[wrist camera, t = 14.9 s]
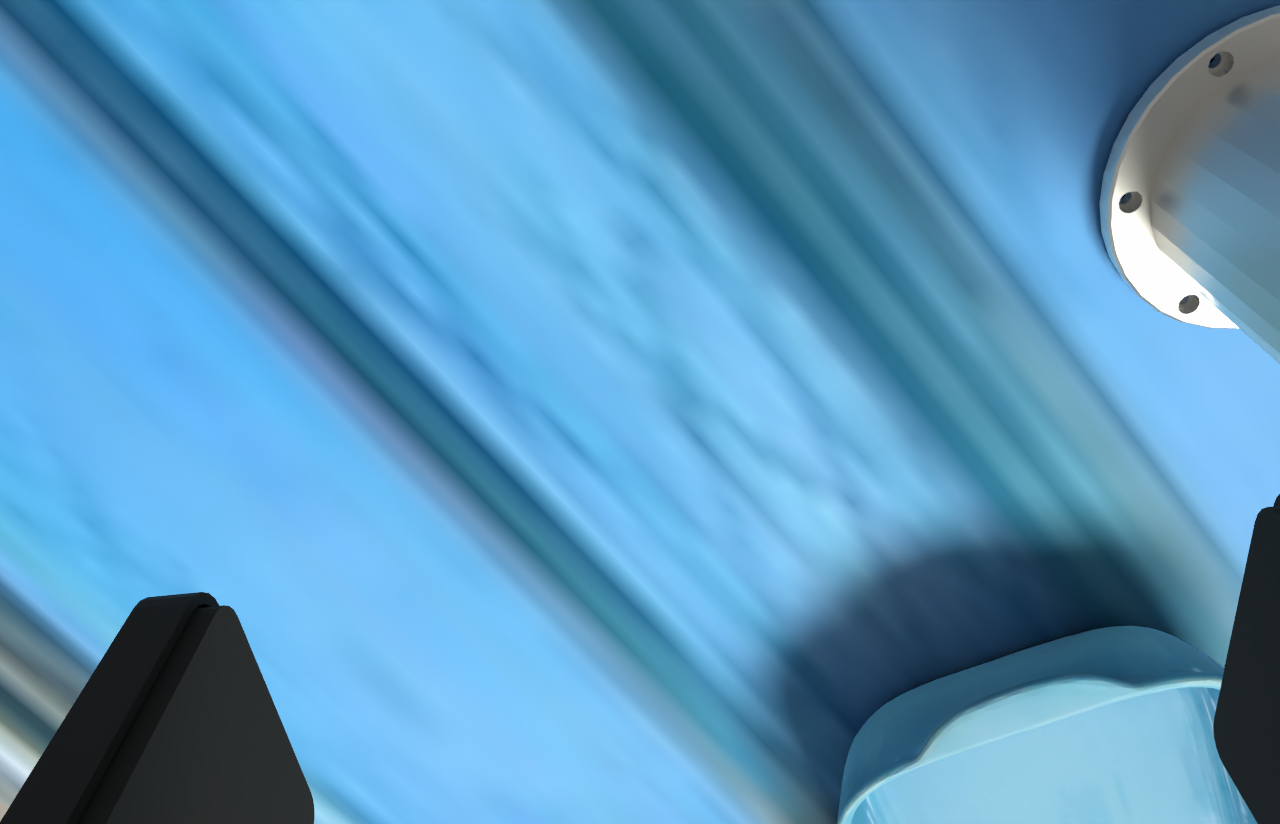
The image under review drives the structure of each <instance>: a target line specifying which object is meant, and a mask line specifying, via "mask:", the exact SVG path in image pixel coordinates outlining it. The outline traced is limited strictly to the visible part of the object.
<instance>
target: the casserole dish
mask: <svg viewBox="0 0 1280 824" xmlns="http://www.w3.org/2000/svg"><path fill="white" fill-rule="evenodd" d="M1223 673H1224V668H1223V667H1222V666H1220V665H1219V664H1218V663H1216V662H1215V661H1214V660H1212V659H1211V658H1210V657H1208V656H1207V655H1205V654H1204V653H1202V652H1201V651H1199V650H1197V649H1196V648H1194V647H1193V646H1191V645H1190V644H1188V643H1187V642H1185V641H1183V640H1181V639H1179V638H1177V637H1174V636H1172V635H1170V634H1168V633H1165V632H1162V631H1159V630H1156V629H1152V628H1147V627H1140V626H1114V627H1106V628H1100V629H1094V630H1090V631H1086V632H1082V633H1079V634H1075V635H1072V636H1067V637H1064V638H1060V639H1057V640H1054V641H1050V642H1047V643H1044V644H1041V645H1037V646H1034V647H1031V648H1028V649H1025V650H1022V651H1019V652H1015V653H1013V654H1010V655H1007V656H1004V657H1002V658H999V659H996V660H993V661H990V662H987V663H984V664H981V665H978V666H975V667H972V668H969V669H966V670H963V671H960V672H957V673H954V674H951V675H948V676H945V677H942V678H939V679H936V680H933V681H931V682H928V683H926V684H923V685H921V686H919V687H917V688H914V689H912V690H910V691H908V692H905V693H903V694H901V695H900V696H898V697H896V698H894V699H892V700H891V701H889V702H887V703H886V704H884V705H883V706H882V707H881V708H879V709H878V710H877V711H876V712H875V713H874V714H873V715H872V716H871V717H870V718H869V719H868V720H867V721H866V722H865V724H864V725H863V726H862V727H861V729H860V730H859V732H858V733H857V735H856V736H855V738H854V740H853V742H852V745H851V747H850V749H849V753H848V756H847V760H846V763H845V768H844V773H843V780H842V788H841V796H840V804H839V812H838V820H837V824H1258V823H1257V822H1256V820H1255V818H1254V817H1253V815H1252V813H1251V811H1250V810H1249V808H1248V806H1247V805H1246V803H1245V801H1244V800H1243V798H1242V796H1241V794H1240V793H1239V791H1238V789H1237V788H1236V786H1235V784H1234V782H1233V781H1232V779H1231V777H1230V776H1229V774H1228V772H1227V770H1226V769H1225V767H1224V765H1223V763H1222V761H1221V759H1220V757H1219V754H1218V751H1217V748H1216V744H1215V740H1214V731H1213V724H1214V716H1215V712H1216V707H1217V702H1218V697H1219V692H1220V688H1221V683H1222V678H1223Z"/></svg>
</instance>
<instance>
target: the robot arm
mask: <svg viewBox="0 0 1280 824" xmlns="http://www.w3.org/2000/svg"><path fill="white" fill-rule="evenodd" d="M1214 56H1215V59H1214V61H1213V62H1212V63H1211V64H1209V63H1210V60H1211V59H1212V58H1213V57H1214ZM1125 193H1126V196H1125V197H1124V198H1123V199H1121V197H1122V196H1123V195H1124V194H1125ZM1120 199H1121V200H1120ZM1099 205H1100V219H1101V232H1102V236H1103V239H1104V242H1105V245H1106V249H1107V252H1108V255H1109V258H1110V259H1111V261H1112V263H1113V264H1114V266H1115V268H1116V269H1117V271H1118V273H1119V274H1120V276H1121V278H1122V279H1123V280H1124V281H1125V282H1126V283H1127V284H1128V285H1129V286H1130V287H1131V288H1132V290H1133V291H1134V292H1135V293H1136V294H1137V295H1138V296H1139V297H1140V298H1142V299H1143V300H1144V301H1145V302H1147V303H1148V304H1149V305H1151V306H1152V307H1153V308H1154V309H1156V310H1157V311H1158V312H1160V313H1162V314H1164V315H1166V316H1168V317H1171V318H1173V319H1175V320H1177V321H1180V322H1183V323H1187V324H1192V325H1196V326H1201V327H1206V328H1221V329H1241V330H1242V331H1243V332H1244V333H1245V334H1246V335H1247V336H1248V337H1250V338H1251V339H1252V340H1253V341H1254V342H1255V343H1256V344H1258V345H1259V346H1260V347H1261V348H1262V349H1263V350H1264V351H1265V352H1267V353H1268V354H1269V355H1270V356H1271V357H1272V358H1273V359H1275V360H1276V361H1277V362H1278V363H1279V364H1280V5H1278V6H1274V7H1271V8H1268V9H1265V10H1262V11H1259V12H1256V13H1253V14H1250V15H1247V16H1245V17H1242V18H1240V19H1238V20H1236V21H1234V22H1232V23H1230V24H1228V25H1226V26H1225V27H1223V28H1221V29H1219V30H1217V31H1215V32H1213V33H1211V34H1209V35H1208V36H1206V37H1205V38H1204V39H1202V40H1201V41H1200V42H1198V43H1197V44H1196V45H1194V46H1193V47H1192V48H1190V49H1189V50H1188V51H1186V52H1185V53H1183V54H1182V55H1181V56H1179V57H1178V58H1177V59H1176V60H1175V61H1174V62H1173V63H1172V64H1171V65H1170V66H1169V67H1168V68H1167V69H1166V70H1165V71H1164V72H1163V73H1162V74H1161V75H1160V76H1159V77H1158V78H1157V79H1156V80H1155V81H1154V82H1153V83H1152V84H1151V85H1150V86H1149V88H1148V89H1147V90H1146V92H1145V93H1144V94H1143V96H1142V97H1141V99H1140V100H1139V101H1138V103H1137V104H1136V105H1135V107H1134V108H1133V109H1132V111H1131V112H1130V113H1129V115H1128V117H1127V119H1126V121H1125V123H1124V125H1123V127H1122V129H1121V130H1120V132H1119V134H1118V136H1117V138H1116V140H1115V142H1114V144H1113V147H1112V150H1111V153H1110V156H1109V159H1108V162H1107V165H1106V168H1105V171H1104V174H1103V181H1102V189H1101V197H1100V204H1099ZM1213 731H1214V740H1215V744H1216V748H1217V751H1218V754H1219V757H1220V759H1221V761H1222V763H1223V765H1224V767H1225V769H1226V770H1227V772H1228V774H1229V776H1230V777H1231V779H1232V781H1233V782H1234V784H1235V786H1236V788H1237V789H1238V791H1239V793H1240V794H1241V796H1242V798H1243V800H1244V801H1245V803H1246V805H1247V806H1248V808H1249V810H1250V811H1251V813H1252V815H1253V817H1254V818H1255V820H1256V822H1257V823H1258V824H1280V494H1279V496H1278V497H1277V498H1276V500H1275V503H1274V506H1273V507H1267V508H1264V509H1262V510H1261V511H1260V512H1259V513H1258V515H1257V518H1256V521H1255V525H1254V530H1253V534H1252V539H1251V544H1250V549H1249V553H1248V558H1247V563H1246V568H1245V573H1244V577H1243V582H1242V587H1241V592H1240V597H1239V601H1238V606H1237V611H1236V616H1235V621H1234V625H1233V630H1232V635H1231V640H1230V645H1229V649H1228V654H1227V659H1226V664H1225V669H1224V673H1223V678H1222V683H1221V688H1220V692H1219V697H1218V702H1217V707H1216V712H1215V716H1214V724H1213ZM0 824H314V804H313V798H312V795H311V792H310V789H309V787H308V784H307V782H306V780H305V777H304V775H303V772H302V770H301V768H300V765H299V763H298V760H297V758H296V756H295V753H294V751H293V748H292V746H291V744H290V741H289V739H288V736H287V734H286V732H285V729H284V727H283V724H282V722H281V720H280V717H279V715H278V712H277V710H276V708H275V705H274V703H273V700H272V698H271V696H270V693H269V691H268V688H267V686H266V684H265V681H264V679H263V676H262V674H261V672H260V669H259V667H258V664H257V662H256V660H255V657H254V655H253V652H252V650H251V648H250V645H249V643H248V640H247V638H246V635H245V633H244V631H243V628H242V626H241V623H240V621H239V619H238V616H237V615H236V613H235V611H234V610H233V609H232V608H231V607H230V606H219V604H218V603H217V601H216V599H215V598H214V597H213V596H211V595H210V594H209V593H204V592H199V593H189V594H178V595H168V596H157V597H147V598H145V599H143V600H141V601H140V602H139V603H138V604H137V605H136V606H135V607H134V609H133V610H132V612H131V613H130V615H129V617H128V618H127V620H126V621H125V623H124V625H123V626H122V628H121V629H120V631H119V633H118V634H117V636H116V637H115V639H114V641H113V642H112V644H111V645H110V647H109V649H108V650H107V652H106V653H105V655H104V657H103V658H102V660H101V661H100V663H99V665H98V666H97V668H96V669H95V671H94V673H93V674H92V676H91V677H90V679H89V681H88V682H87V684H86V685H85V687H84V689H83V690H82V692H81V693H80V695H79V697H78V698H77V700H76V701H75V703H74V705H73V706H72V708H71V709H70V711H69V713H68V714H67V716H66V717H65V719H64V721H63V722H62V724H61V725H60V727H59V729H58V730H57V732H56V733H55V735H54V737H53V738H52V740H51V741H50V743H49V745H48V746H47V748H46V749H45V751H44V753H43V754H42V756H41V758H40V759H39V761H38V762H37V764H36V766H35V767H34V769H33V770H32V772H31V774H30V775H29V777H28V778H27V780H26V782H25V783H24V785H23V786H22V788H21V790H20V791H19V793H18V794H17V796H16V798H15V799H14V801H13V802H12V804H11V806H10V807H9V809H8V811H7V812H6V814H5V815H4V817H3V818H2V820H1V822H0Z"/></svg>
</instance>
